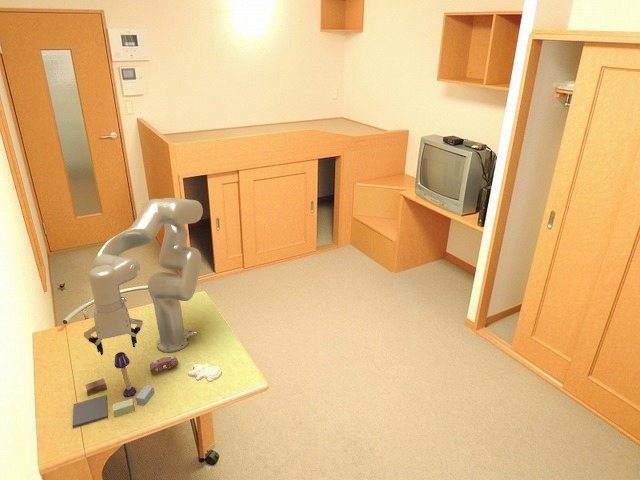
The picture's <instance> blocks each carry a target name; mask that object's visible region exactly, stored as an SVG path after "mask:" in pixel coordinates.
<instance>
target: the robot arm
mask: <svg viewBox="0 0 640 480" xmlns="http://www.w3.org/2000/svg"><path fill="white" fill-rule="evenodd" d="M203 210H204V209H203V205H202V203H200V201H198V200H194V199H189V198H187V199H185V198H178V197H177V198H176V197H164V198H152V199H150V200H149V201H148V202H147V203H146V204H145V205H144V206H143V208H142V210H141V211H140V213H139V214H138V215H137V217H136V218H135V220H134V221H133V223H132V225H131V226H130V227H129V228H126V230H124V231H121V232H120V233H118V234H116V235H115V236H113V237H111V238H110V239H109V240H108V241H106V242H105V243H104V244H103V245H102V247H101V248H100V250H99V251H98V253H97V254H96V255H95V258H94V259H93V262H92V269H91V270H89V273H88V279H89V284H90V287H91V292H92V297H93V302H94V305H95V307H94V308H93V321H94V325H93V326H92V327H91V328H89V329H88V330H86V331H84V333H83V337H84V338H85V340H87V341H88V342H89V343H92V344H94V346H96V350H97V353H100V356H103V355H104V348H103V343H102V340H106V339H111V338H115V337H119V336H123V335H124V336H125V335H127V334H128V335H130V339H131V344H132V348H136V344H137V343H138V341H137V335H138V333H140V331H141V328H142V326H143V324H144V323H143V320H140V319H136V318H135V319H134V318H131V317H130V315H129V309H128V307H127V305H126V302H127V301H128V300H127V297H123V296H122V295H121V290H120V286H121V285H123V284H126V283H128V282H131V281H132V280H134V279H136V278H137V276H138V275H139V273H140V271H141V264H140V263H139V260H137V259H136V258H132V257H129V256H121V254H122V253H124V252H127V251H128V250H131V249H135V248H139V247H143V246H147V245H149V244H151V243H153V242H154V240H155V238H156V237H157V235H158V234H159V232H160V231H161V229H162V227H163V226H164V227H163V228H164V235H163V239H162V244H161V248H160V251H159V257H158V264H159V267H160V268H163V269H166V270H170V271H179V272H182V273H181V274H178V273H172V272H164V271H159V272H155V273H153V274H152V275H150V276H149V278H148V281H147V290H148V293H149V296H150V297H151V301H152V303H153V307H154V311H155V319H156V325H157V330H158V335H159V336H158V339H157V340H156V348H157V349H158V351H161V352H163V353H176V352H179V351H181V350H184V349H185V348H186V347H187V346H188V345H189V343H190V337H195V336H198V334H197V333H198V332H197V330H194V329H193V328H189V329H185V326H184V320H183V313H182V306H181V302H180V301H182V302H188V301H190V300H191V299H193V297H194V295H195V292H196V288H197V284H198V281H199V275H200V270H201V268H202V267H201V266H202V254H201V252H200V251H199V249H197V248H196V247H191V246H186V245H187V240H188V230H187V228H186V226H185V225H188V224H189V225H190V224H196V223H197V222H199V221H200V220H201V218H202V216H203V213H204V211H203ZM132 325H135V326H136V327H134V328H133V327H132ZM93 333H96V334H95V335H96V336H93Z"/></svg>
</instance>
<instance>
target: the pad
mask: <svg viewBox="0 0 640 480" xmlns="http://www.w3.org/2000/svg"><path fill="white" fill-rule="evenodd" d="M108 411H109V410H108V395H107V394H105V395H101V396H97V397H94V398H90V399H87V400H83V401H79V402H75V403H73V407H72V423H71V425H72V428H73V429H75V428H79V427H81V426H84V425H89V424H92V423H95V422H98V421H102V420H106V419H108V416H109V415H108V414H109V413H108Z"/></svg>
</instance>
